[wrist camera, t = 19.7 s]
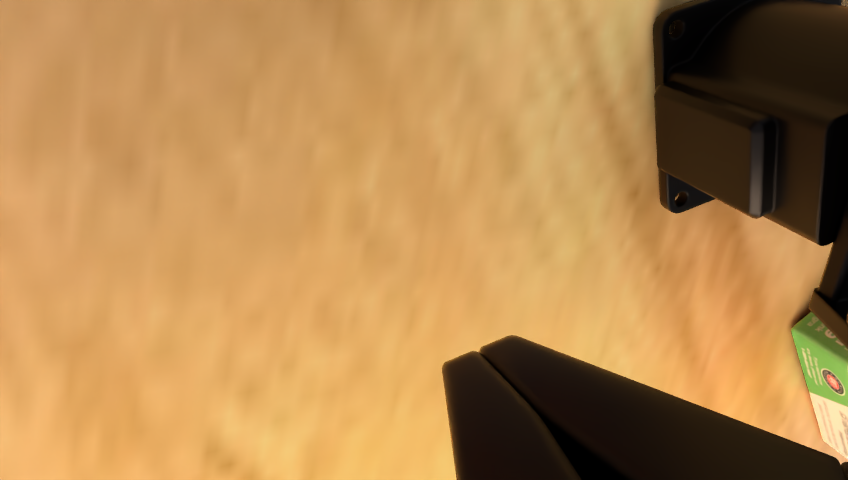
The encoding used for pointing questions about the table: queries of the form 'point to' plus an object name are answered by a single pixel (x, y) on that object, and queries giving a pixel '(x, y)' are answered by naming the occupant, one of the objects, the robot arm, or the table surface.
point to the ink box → (825, 378)
